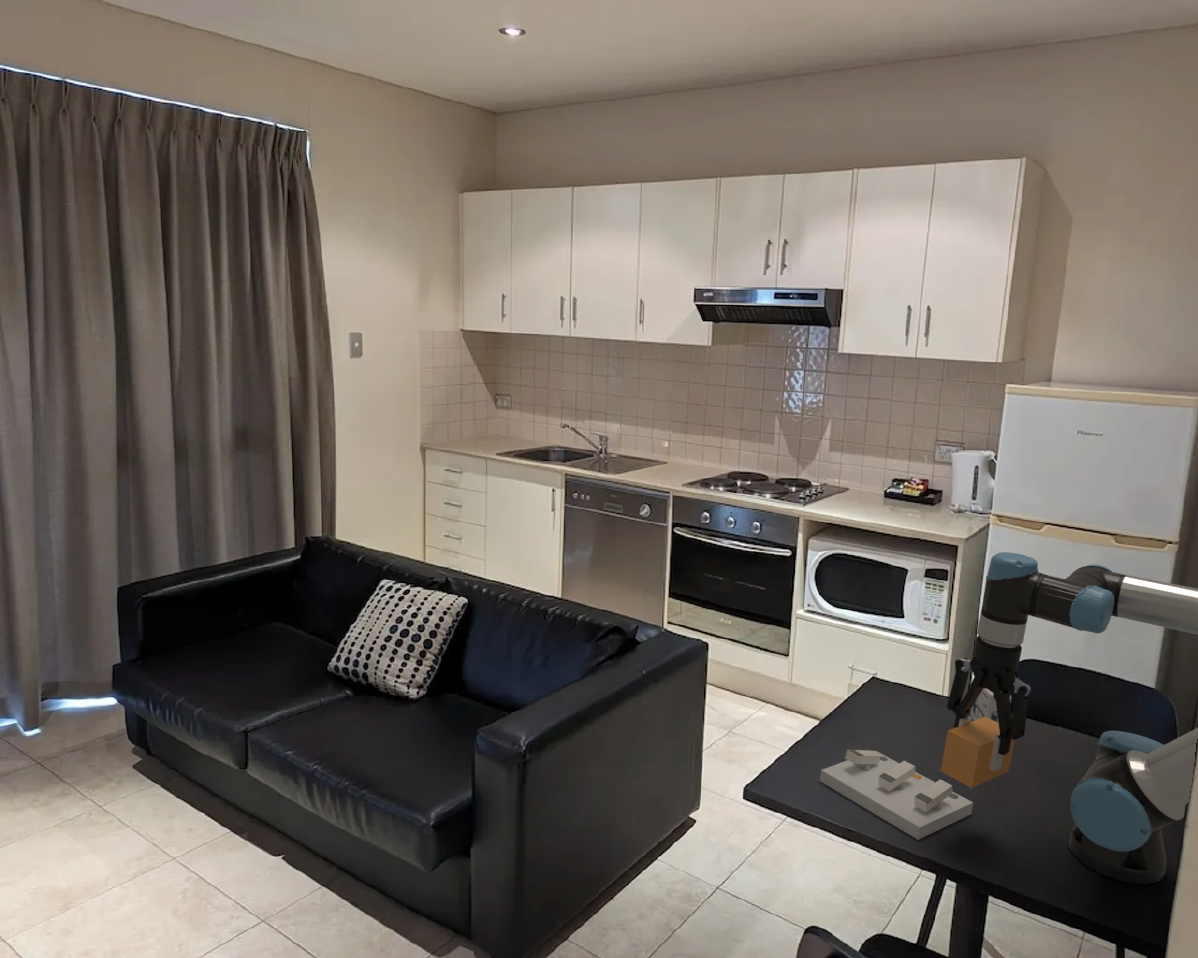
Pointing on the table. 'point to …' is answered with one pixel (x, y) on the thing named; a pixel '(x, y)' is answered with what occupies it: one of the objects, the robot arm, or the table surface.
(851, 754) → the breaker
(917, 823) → the panel
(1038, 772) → the table surface
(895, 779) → the block
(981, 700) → the ink box
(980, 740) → the brown block
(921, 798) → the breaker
